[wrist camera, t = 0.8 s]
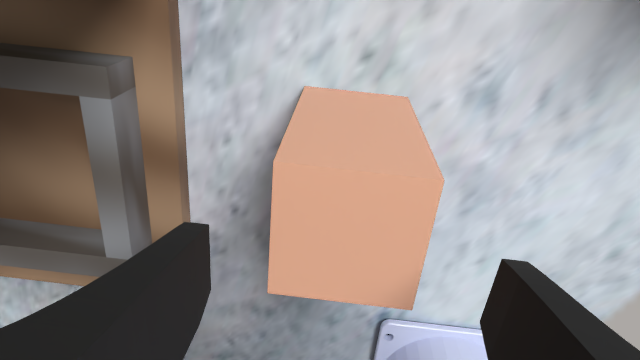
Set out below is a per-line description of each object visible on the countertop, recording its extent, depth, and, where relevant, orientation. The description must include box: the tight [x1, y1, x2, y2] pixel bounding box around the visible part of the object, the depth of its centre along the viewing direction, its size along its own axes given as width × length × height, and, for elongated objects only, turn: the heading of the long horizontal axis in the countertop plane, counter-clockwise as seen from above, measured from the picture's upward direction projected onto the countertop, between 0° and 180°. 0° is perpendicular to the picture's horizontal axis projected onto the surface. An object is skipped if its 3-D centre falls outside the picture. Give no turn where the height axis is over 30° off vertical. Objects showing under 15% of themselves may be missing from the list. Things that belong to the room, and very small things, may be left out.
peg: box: [267, 86, 444, 310], centre depth 15 cm, size 4×4×8 cm
